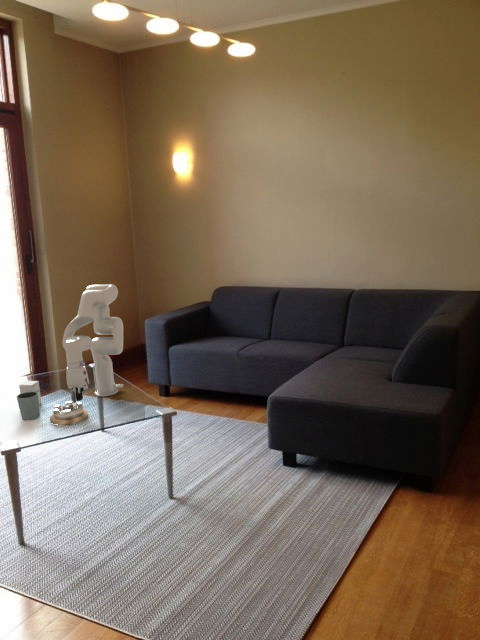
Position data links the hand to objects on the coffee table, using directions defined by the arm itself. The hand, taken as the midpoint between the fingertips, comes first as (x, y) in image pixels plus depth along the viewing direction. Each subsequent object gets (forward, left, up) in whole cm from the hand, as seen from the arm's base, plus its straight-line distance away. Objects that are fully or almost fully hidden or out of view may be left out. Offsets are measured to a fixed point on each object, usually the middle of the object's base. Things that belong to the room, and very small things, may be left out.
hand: (79, 400), depth 287 cm
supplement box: (+23, -28, -8) cm, 37 cm away
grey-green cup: (+24, -10, -8) cm, 27 cm away
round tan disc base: (+6, +2, -8) cm, 10 cm away
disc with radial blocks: (+6, +2, -6) cm, 8 cm away
